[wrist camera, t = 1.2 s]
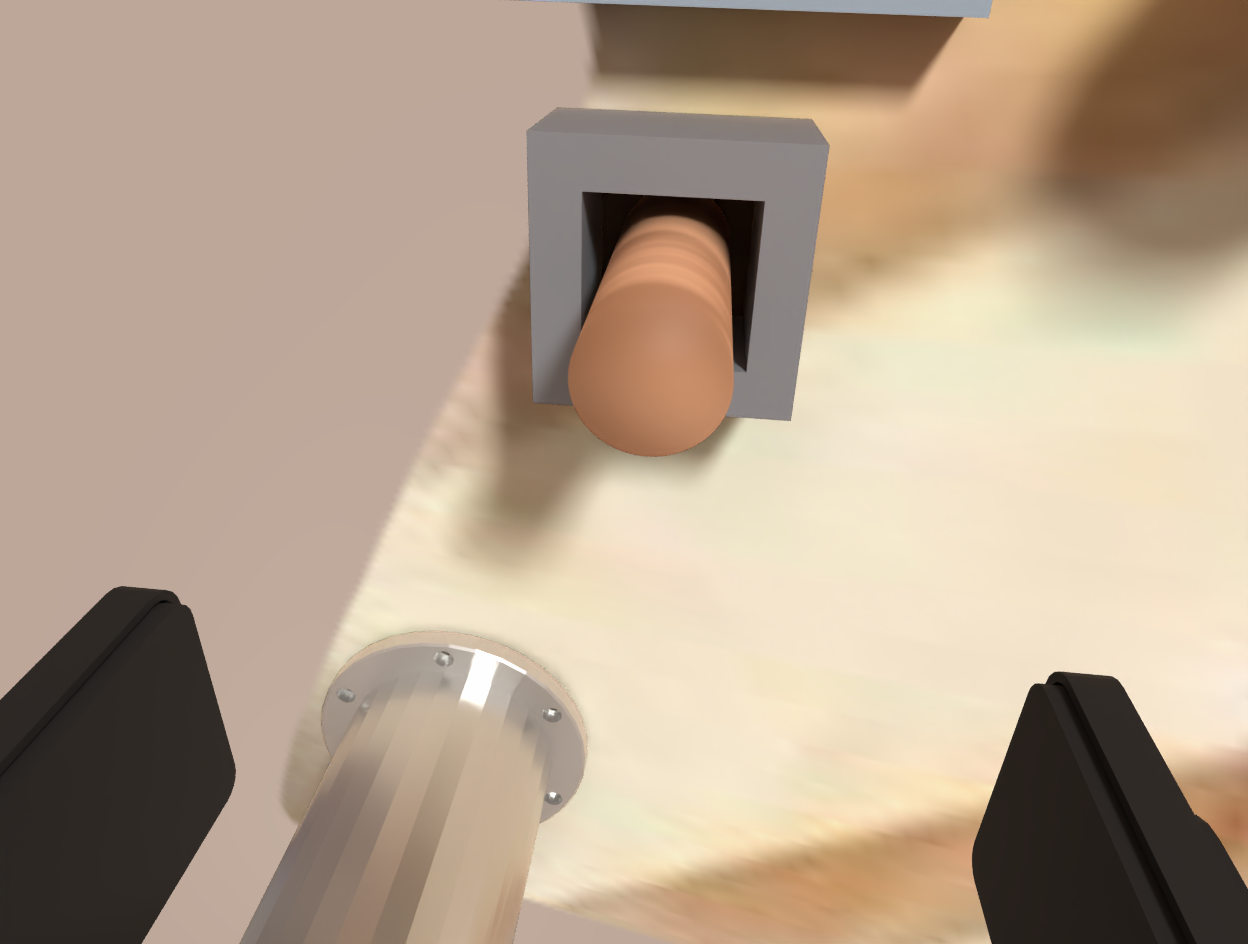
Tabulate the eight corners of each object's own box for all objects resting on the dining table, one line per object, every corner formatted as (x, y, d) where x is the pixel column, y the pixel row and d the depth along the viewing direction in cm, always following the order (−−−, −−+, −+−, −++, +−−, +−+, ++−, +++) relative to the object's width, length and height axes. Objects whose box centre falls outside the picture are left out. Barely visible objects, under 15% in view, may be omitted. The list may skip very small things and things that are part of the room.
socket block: (781, 359, 31) (790, 421, 26) (558, 344, 31) (532, 402, 27) (811, 119, 27) (829, 145, 23) (557, 107, 27) (526, 131, 23)
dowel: (724, 295, 30) (725, 462, 20) (621, 289, 30) (567, 450, 20) (734, 188, 28) (741, 308, 18) (624, 182, 28) (567, 297, 18)
